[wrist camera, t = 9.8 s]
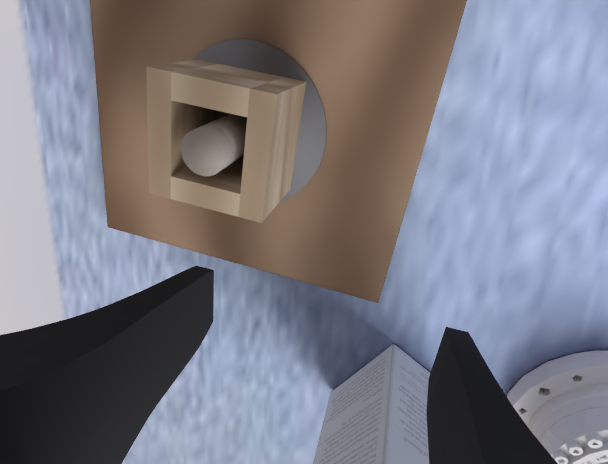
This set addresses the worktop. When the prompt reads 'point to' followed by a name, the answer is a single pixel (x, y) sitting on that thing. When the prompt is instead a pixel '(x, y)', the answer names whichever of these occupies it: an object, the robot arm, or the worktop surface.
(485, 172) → the worktop surface
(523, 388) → the mechanical component
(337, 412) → the skincare box
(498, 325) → the worktop surface
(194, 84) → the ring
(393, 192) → the post board
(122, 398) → the robot arm
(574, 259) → the worktop surface
